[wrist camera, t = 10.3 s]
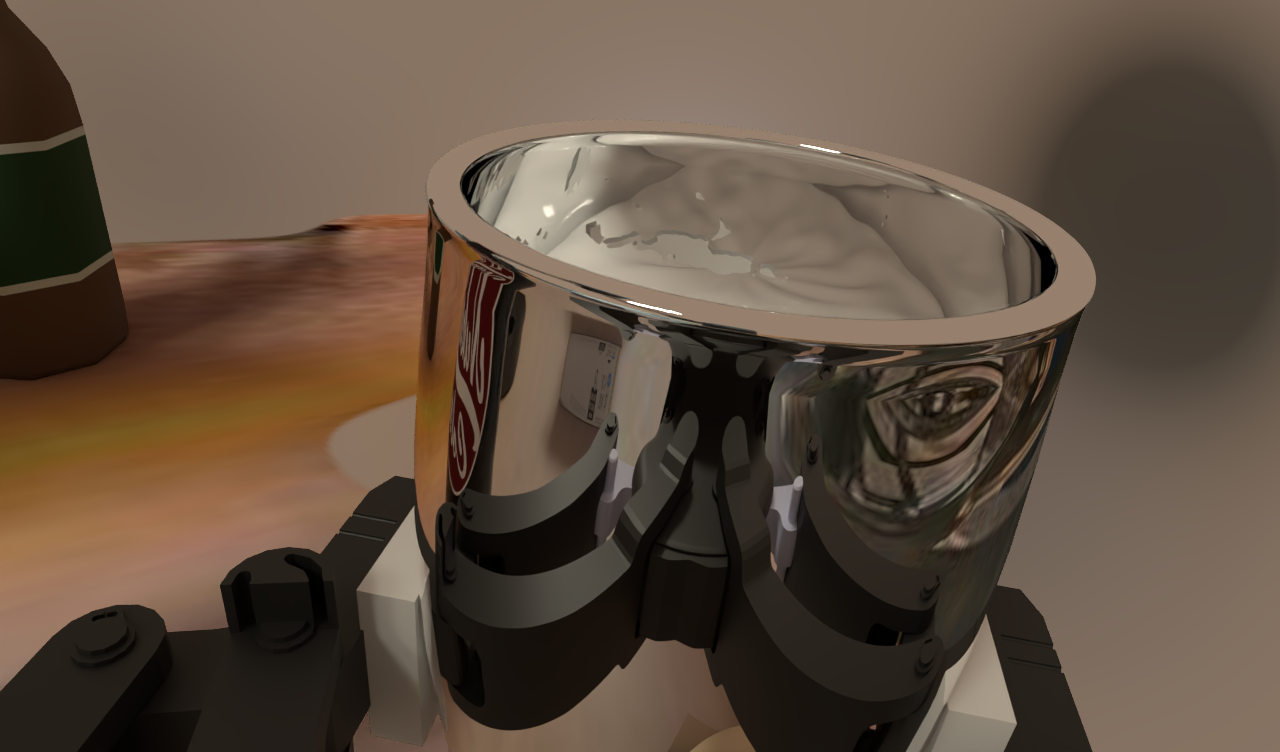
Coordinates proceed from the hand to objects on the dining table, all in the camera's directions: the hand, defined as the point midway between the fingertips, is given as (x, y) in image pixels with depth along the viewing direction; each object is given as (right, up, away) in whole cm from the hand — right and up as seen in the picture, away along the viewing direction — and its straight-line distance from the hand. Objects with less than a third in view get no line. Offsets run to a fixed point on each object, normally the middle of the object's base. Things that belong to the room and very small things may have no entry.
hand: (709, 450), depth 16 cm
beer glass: (-2, -10, 0) cm, 10 cm away
